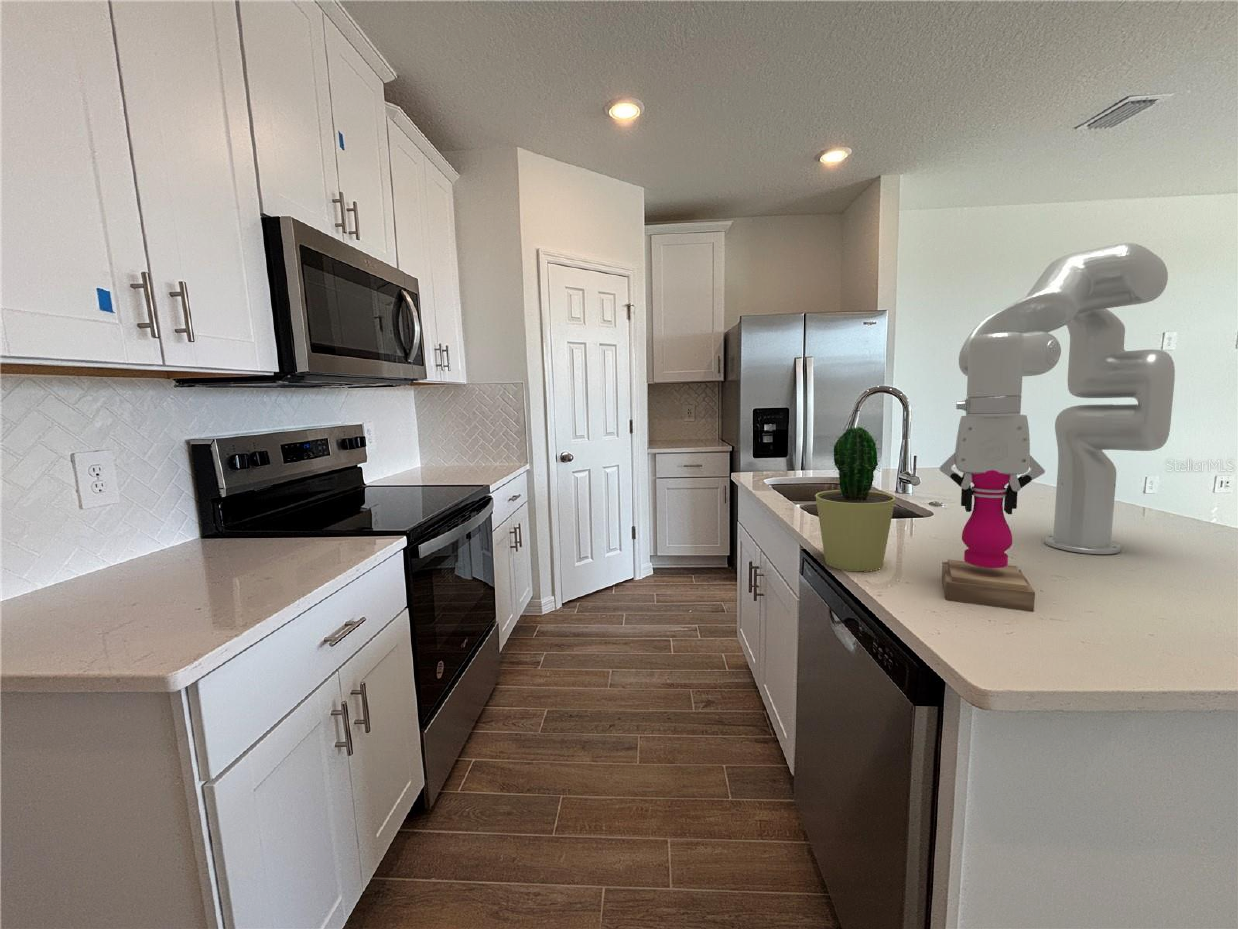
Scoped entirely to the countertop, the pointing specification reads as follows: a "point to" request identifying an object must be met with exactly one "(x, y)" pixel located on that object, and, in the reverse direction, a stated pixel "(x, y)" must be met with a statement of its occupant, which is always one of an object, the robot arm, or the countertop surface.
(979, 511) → the pepper mill
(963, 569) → the wooden box
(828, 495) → the potted cactus
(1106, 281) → the robot arm
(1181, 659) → the countertop surface
